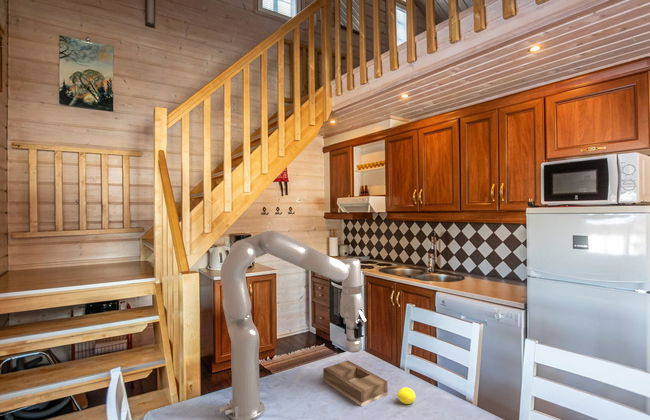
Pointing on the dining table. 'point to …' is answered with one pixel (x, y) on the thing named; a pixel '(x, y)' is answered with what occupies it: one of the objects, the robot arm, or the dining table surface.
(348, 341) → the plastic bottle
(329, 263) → the robot arm
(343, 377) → the brown slotted block
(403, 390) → the lemon
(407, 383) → the dining table surface
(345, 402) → the dining table surface
